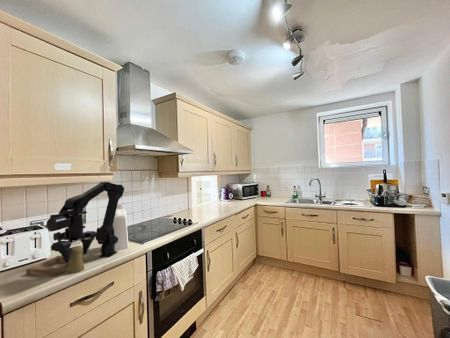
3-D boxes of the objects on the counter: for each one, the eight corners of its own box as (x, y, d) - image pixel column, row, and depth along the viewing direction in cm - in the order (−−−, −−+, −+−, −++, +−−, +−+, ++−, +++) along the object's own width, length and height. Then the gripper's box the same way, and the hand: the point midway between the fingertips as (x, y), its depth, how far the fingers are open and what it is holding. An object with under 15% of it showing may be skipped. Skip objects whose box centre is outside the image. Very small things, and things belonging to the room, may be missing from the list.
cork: (87, 267, 96) (86, 244, 96) (78, 273, 90) (77, 248, 90) (74, 267, 96) (74, 244, 96) (64, 274, 89) (64, 249, 90)
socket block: (58, 260, 105) (58, 255, 105) (83, 261, 103) (83, 256, 103) (26, 274, 90) (26, 269, 90) (54, 276, 88) (54, 270, 88)
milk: (128, 242, 129) (126, 202, 130) (127, 248, 119) (126, 204, 119) (106, 245, 124) (105, 204, 125) (104, 252, 114) (103, 206, 114)
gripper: (77, 220, 103) (78, 250, 103) (39, 230, 85) (40, 267, 85) (96, 220, 102) (97, 250, 102) (62, 230, 83) (63, 268, 83)
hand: (76, 258), depth 93 cm, fingers open, 9 cm apart
